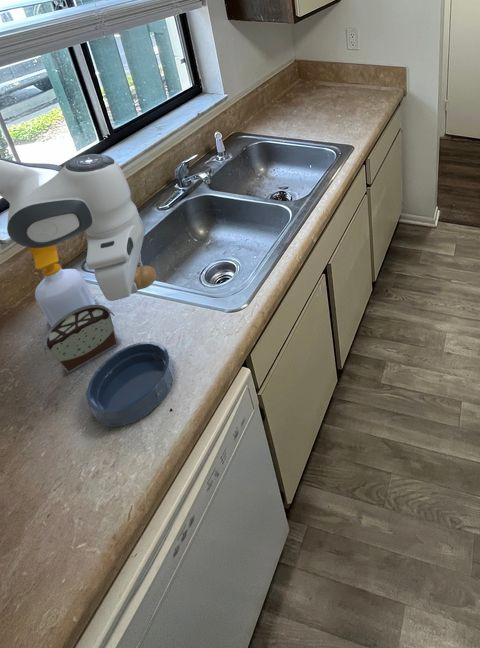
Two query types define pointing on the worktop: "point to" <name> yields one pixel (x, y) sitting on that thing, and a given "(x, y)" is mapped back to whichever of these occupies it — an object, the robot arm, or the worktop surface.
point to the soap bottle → (59, 286)
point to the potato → (145, 276)
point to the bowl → (130, 384)
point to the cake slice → (81, 336)
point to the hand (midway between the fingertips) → (135, 280)
